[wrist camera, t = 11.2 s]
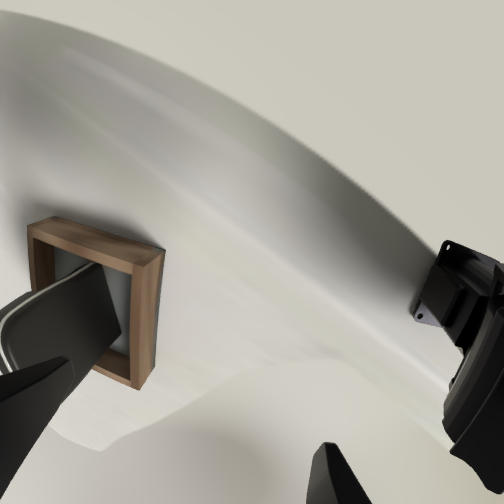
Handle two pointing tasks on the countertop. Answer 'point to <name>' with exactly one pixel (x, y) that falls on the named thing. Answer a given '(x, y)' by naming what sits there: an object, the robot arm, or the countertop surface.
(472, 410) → the robot arm
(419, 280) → the countertop surface
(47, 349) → the battery charger
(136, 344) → the wooden tray
